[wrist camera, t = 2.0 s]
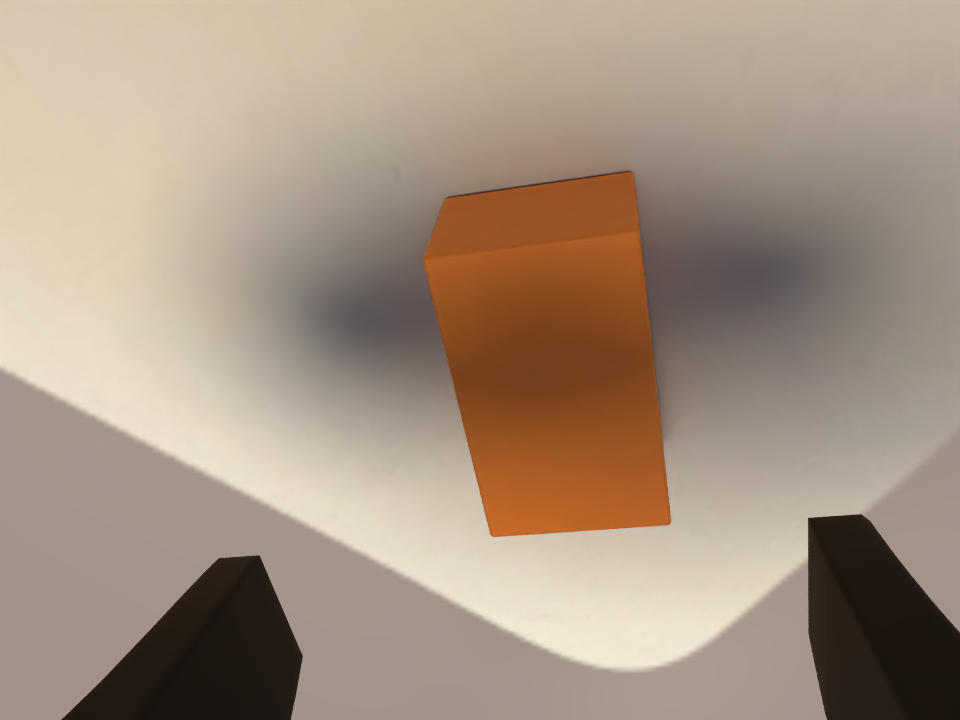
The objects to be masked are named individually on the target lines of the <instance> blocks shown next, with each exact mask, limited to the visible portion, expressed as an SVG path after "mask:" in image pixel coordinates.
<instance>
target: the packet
mask: <svg viewBox="0 0 960 720" xmlns="http://www.w3.org/2000/svg"><path fill="white" fill-rule="evenodd" d="M423 264H424V268H425V272H426V276H427V280H428V284H429V288H430V292H431V296H432V300H433V304H434V308H435V312H436V316H437V320H438V324H439V328H440V332H441V336H442V341H443V345H444V349H445V353H446V357H447V361H448V365H449V369H450V373H451V377H452V381H453V385H454V389H455V393H456V397H457V401H458V405H459V409H460V413H461V417H462V421H463V426H464V430H465V434H466V438H467V442H468V446H469V450H470V454H471V458H472V462H473V466H474V470H475V474H476V478H477V482H478V486H479V490H480V494H481V498H482V502H483V506H484V511H485V515H486V519H487V523H488V527H489V531H490V534H491V536H492V537H501V536H515V535H530V534H545V533H559V532H574V531H588V530H603V529H618V528H632V527H647V526H661V525H669V524H670V523H671V515H670V506H669V497H668V487H667V478H666V468H665V459H664V449H663V440H662V431H661V421H660V412H659V403H658V393H657V384H656V375H655V366H654V356H653V347H652V338H651V328H650V319H649V310H648V301H647V291H646V282H645V273H644V263H643V254H642V245H641V236H640V226H639V217H638V208H637V198H636V189H635V180H634V174H633V173H632V172H626V173H619V174H612V175H605V176H598V177H591V178H584V179H577V180H570V181H563V182H556V183H549V184H542V185H535V186H528V187H521V188H514V189H507V190H500V191H493V192H486V193H479V194H472V195H465V196H458V197H451V198H446V199H445V200H444V203H443V206H442V208H441V211H440V214H439V216H438V219H437V222H436V225H435V227H434V230H433V233H432V236H431V238H430V241H429V244H428V247H427V249H426V252H425V255H424V257H423Z"/></svg>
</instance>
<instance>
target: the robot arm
mask: <svg viewBox="0 0 960 720" xmlns="http://www.w3.org/2000/svg"><path fill="white" fill-rule="evenodd" d="M808 569H809V570H808V574H809V576H808V580H809V581H808V585H809V587H808V592H809V593H808V597H809V598H808V600H809V638H810V643H811V647H812V653H813V658H814V662H815V667H816V672H817V677H818V682H819V686H820V691H821V696H822V700H823V705H824V710H825V714H826V717H827V720H960V632H959V631H958V630H957V629H956V628H955V627H954V626H953V624H952V623H951V622H950V621H949V620H948V619H947V618H946V616H945V615H944V614H943V613H942V612H941V611H940V610H939V609H938V607H937V606H936V605H935V604H934V603H933V601H932V600H931V599H930V598H929V597H928V595H927V594H926V593H925V592H924V590H923V589H922V588H921V587H920V586H919V584H918V583H917V582H916V581H915V579H914V578H913V577H912V576H911V575H910V573H909V572H908V571H907V570H906V568H905V567H904V566H903V564H902V563H901V562H900V561H899V560H898V558H897V557H896V556H895V554H894V553H893V552H892V550H891V549H890V548H889V546H888V545H887V544H886V542H885V541H884V540H883V538H882V537H881V535H880V534H879V533H878V532H877V530H876V529H875V527H874V526H873V524H872V523H871V521H869V520H868V519H867V518H865V517H864V516H863V515H861V514H859V515H844V516H830V517H815V518H808ZM302 657H303V656H302V653H301V651H300V649H299V647H298V644H297V642H296V639H295V637H294V635H293V633H292V630H291V628H290V626H289V623H288V621H287V618H286V616H285V614H284V612H283V609H282V607H281V604H280V602H279V600H278V598H277V595H276V593H275V591H274V588H273V586H272V584H271V581H270V579H269V577H268V574H267V572H266V570H265V567H264V565H263V563H262V560H261V558H260V556H245V557H230V558H219V559H218V560H217V561H215V563H214V564H212V565H211V566H210V568H208V569H207V570H206V571H205V572H204V573H203V574H202V576H201V577H200V578H199V579H198V580H197V581H196V582H195V583H194V584H193V585H192V586H191V587H190V588H189V589H188V590H187V591H186V592H185V593H184V595H183V596H182V597H181V598H180V599H179V600H178V601H177V602H176V603H175V604H174V605H173V606H172V607H171V608H170V609H169V610H168V611H167V613H166V614H165V615H164V616H163V617H162V618H161V619H160V620H159V621H158V622H157V623H156V625H154V626H153V628H152V629H151V630H150V631H149V632H148V633H147V634H146V635H145V636H144V637H143V638H142V639H141V640H140V641H139V642H138V643H137V644H136V645H135V646H134V648H133V649H132V650H131V651H130V652H129V653H128V654H127V655H126V656H125V657H124V658H123V659H122V660H121V661H120V662H119V663H118V664H117V665H116V666H115V667H114V669H113V670H112V671H111V672H110V673H109V674H108V675H107V676H106V677H105V678H104V679H103V680H102V681H101V682H100V683H99V684H98V685H97V686H96V687H95V688H94V689H93V690H92V691H91V692H90V693H89V694H88V695H87V696H86V697H84V698H83V699H82V700H81V701H80V702H79V703H78V704H77V705H76V706H75V707H74V708H73V709H72V710H71V711H70V712H69V713H68V714H67V715H66V716H65V717H64V718H63V719H62V720H291V715H292V711H293V705H294V701H295V696H296V691H297V685H298V680H299V674H300V669H301V663H302Z"/></svg>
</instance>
